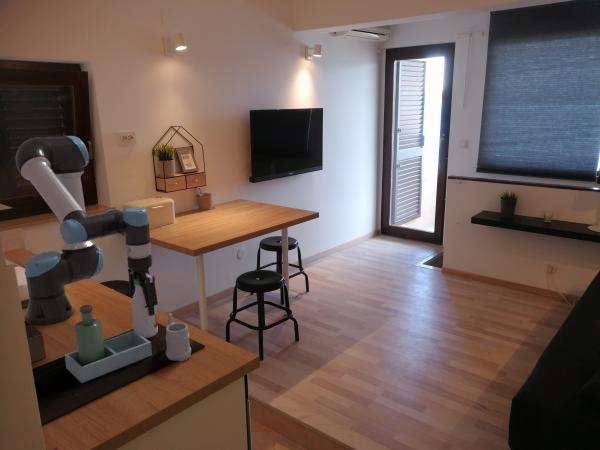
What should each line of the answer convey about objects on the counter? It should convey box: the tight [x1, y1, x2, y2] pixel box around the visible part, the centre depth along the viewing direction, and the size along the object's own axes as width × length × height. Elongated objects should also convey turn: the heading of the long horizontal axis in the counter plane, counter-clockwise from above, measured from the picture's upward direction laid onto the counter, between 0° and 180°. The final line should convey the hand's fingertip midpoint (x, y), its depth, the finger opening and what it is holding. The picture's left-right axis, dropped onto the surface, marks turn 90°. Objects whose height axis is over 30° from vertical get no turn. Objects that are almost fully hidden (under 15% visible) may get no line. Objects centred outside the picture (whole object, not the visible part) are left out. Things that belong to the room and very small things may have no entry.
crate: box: [64, 330, 153, 384], centre depth 144 cm, size 11×21×5 cm, turn 135°
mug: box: [165, 313, 192, 362], centre depth 148 cm, size 8×12×12 cm, turn 34°
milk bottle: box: [131, 278, 159, 339], centre depth 160 cm, size 8×8×20 cm
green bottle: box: [74, 304, 105, 367], centre depth 138 cm, size 7×7×19 cm
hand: (145, 319), depth 161 cm, fingers closed on milk bottle, 7 cm apart
